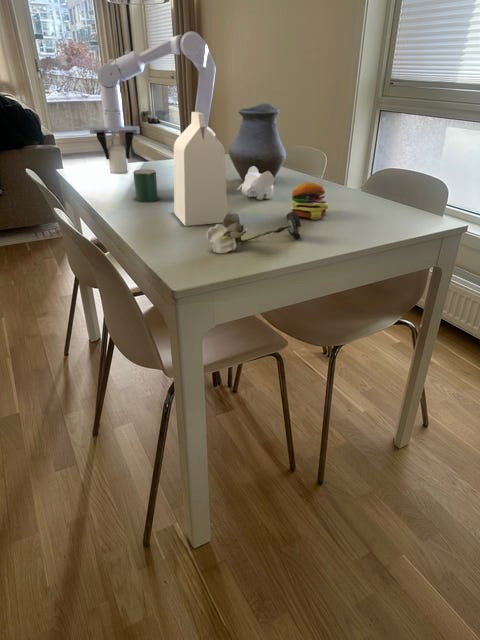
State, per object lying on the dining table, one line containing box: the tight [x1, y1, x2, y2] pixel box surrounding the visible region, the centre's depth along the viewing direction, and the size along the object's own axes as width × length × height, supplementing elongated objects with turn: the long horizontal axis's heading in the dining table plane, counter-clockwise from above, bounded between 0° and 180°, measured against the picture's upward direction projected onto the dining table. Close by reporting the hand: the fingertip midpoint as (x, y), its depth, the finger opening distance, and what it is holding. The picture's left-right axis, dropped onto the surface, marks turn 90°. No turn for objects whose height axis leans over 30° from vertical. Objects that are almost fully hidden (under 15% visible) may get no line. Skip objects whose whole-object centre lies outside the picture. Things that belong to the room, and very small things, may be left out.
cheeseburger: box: [290, 181, 329, 221], centre depth 126 cm, size 10×11×10 cm
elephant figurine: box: [236, 166, 276, 201], centre depth 140 cm, size 10×12×9 cm
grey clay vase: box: [228, 103, 287, 182], centre depth 158 cm, size 21×22×25 cm
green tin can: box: [132, 168, 158, 203], centre depth 137 cm, size 7×7×8 cm
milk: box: [173, 111, 228, 227], centre depth 117 cm, size 12×12×26 cm
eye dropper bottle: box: [107, 133, 130, 175], centre depth 140 cm, size 4×6×12 cm
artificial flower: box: [206, 210, 302, 254], centre depth 104 cm, size 9×22×10 cm, turn 109°
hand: (118, 158), depth 141 cm, fingers closed on eye dropper bottle, 5 cm apart
